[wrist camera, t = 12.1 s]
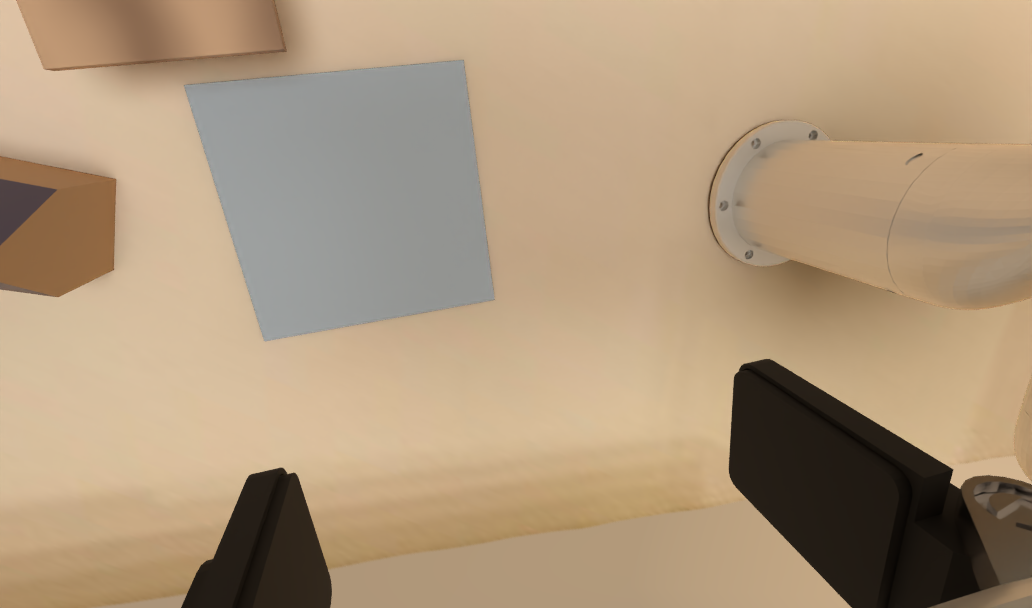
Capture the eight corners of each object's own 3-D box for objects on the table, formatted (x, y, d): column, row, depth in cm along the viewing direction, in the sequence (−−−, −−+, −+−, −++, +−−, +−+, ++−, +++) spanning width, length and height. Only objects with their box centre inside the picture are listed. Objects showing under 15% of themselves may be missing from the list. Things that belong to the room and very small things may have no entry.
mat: (462, 60, 35) (463, 59, 35) (493, 298, 41) (494, 299, 41) (186, 85, 32) (183, 85, 31) (265, 339, 38) (264, 341, 38)
